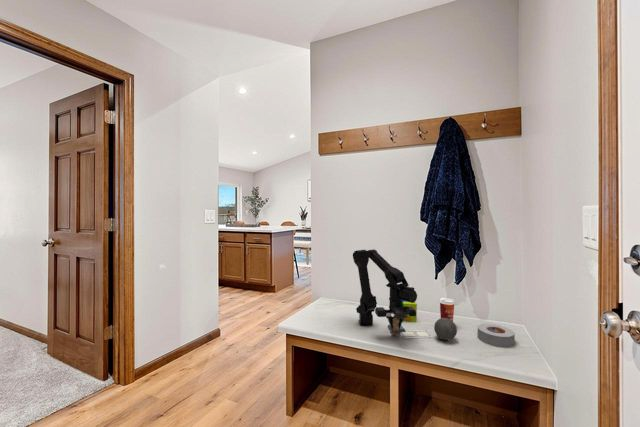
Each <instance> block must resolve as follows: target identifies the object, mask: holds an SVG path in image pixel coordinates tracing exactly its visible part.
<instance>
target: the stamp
mask: <svg viewBox="0 0 640 427" xmlns="http://www.w3.org/2000/svg"><path fill="white" fill-rule="evenodd" d="M392 317H393V319H392V324H393V329H390V330H389V332H390V334H391V336H392V337H394V336H395V337H401V334H402V333H401V332H400V331H399V330H398V329H399V318H395V316H392Z"/></svg>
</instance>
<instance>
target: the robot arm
mask: <svg viewBox="0 0 640 427" xmlns="http://www.w3.org/2000/svg"><path fill="white" fill-rule="evenodd" d="M384 258H385V257H383V256H381V254H380V253H378V251H377V250H376V249H375V248H374V249H368V250H367V249H358V250H355V251H354V252H353V253H352V259H353V263H354V264H355V266H356V267H357V269H358V276H359V284H360V291H361V295H360V299H359V305H358V306H357V307H356V308H355V310H356V313H358V316H359V318H358V319H359V320H358V323H359V325H360V326H362V327H363V326H365V327H366V326H367V327H368V326H373V325H374V324H373V323H374V315H373V313H375V315H376V316H377V317H379V318H386V319H387V321H388V325H389V324H390V327H391V329H393V324H392V319H393V316H392V315H394V316H395V318H399V329H400V326H401V325H402V324H403V323H404V322H403V320H404V319H405V318H407V316H406V315H409V316H416V310H415V309H414V308H413V307H405V306H403V302H402V300H404V301H407V302H410V303H414V302H416V301H417V300H418V293H417V291H416V290H415V287H411V286H409V283H408V281H407V279H406V277H405V274H404V273H403V272H402V271H401V270H400V269H399V268H397V267H394V266H393V265H391V264H390V263H389V262H388V261H387V260H386V259H384ZM370 260H371V261H372V262H373V263H374V264H375V265H376V266H377V267H378V268H379V269H380V270H381V272H382V273H383V274H384V277H385V280H387V282H388V283H387V284H386V285H385V286H386V287H387V288H389V298H388V300H389V306H388V308H389V309H385V308H384V307H381V306H379V307H377V304H378V302H377V297H376V295H374V294H373V293H372V289H371V283H370V276H369V271H368V269H369V268H368V265H369V261H370Z"/></svg>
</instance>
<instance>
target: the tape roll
mask: <svg viewBox="0 0 640 427" xmlns="http://www.w3.org/2000/svg"><path fill="white" fill-rule="evenodd" d="M515 335H516V333H515V331H514V330H512V329H511V328H510V327H506V326H502V325H500V324H495V323H480V324H478V325H477V339H478V340H479V341H481V342H483V343H484V344H486V345H489V346H494V347H499V348H511V347H513V346H515Z"/></svg>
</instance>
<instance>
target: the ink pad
mask: <svg viewBox="0 0 640 427" xmlns="http://www.w3.org/2000/svg"><path fill="white" fill-rule="evenodd" d="M387 329H388V330H389V331H390V329H391V327H390V324H389V323H388V324H387ZM398 330H399V331H400V332H405V331H406V329H405V328H404V326H403V325H402V324H401V326H400V329H398Z"/></svg>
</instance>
